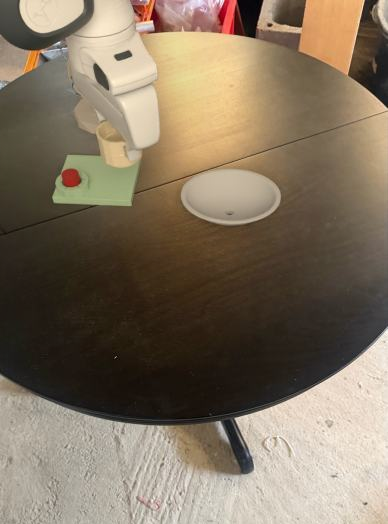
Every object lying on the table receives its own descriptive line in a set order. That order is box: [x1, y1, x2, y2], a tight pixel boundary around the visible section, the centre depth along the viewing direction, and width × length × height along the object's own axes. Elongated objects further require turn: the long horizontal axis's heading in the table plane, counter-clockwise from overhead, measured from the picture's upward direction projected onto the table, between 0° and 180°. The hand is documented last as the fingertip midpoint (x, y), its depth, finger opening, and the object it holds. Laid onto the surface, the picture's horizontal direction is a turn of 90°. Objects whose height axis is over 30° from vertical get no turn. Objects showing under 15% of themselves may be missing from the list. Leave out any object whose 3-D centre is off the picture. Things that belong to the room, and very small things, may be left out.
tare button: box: [60, 168, 81, 187], centre depth 89 cm, size 3×3×2 cm
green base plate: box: [51, 154, 142, 207], centre depth 92 cm, size 15×13×3 cm
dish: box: [180, 168, 282, 227], centre depth 85 cm, size 18×14×5 cm
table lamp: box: [59, 39, 100, 135], centre depth 89 cm, size 22×22×40 cm
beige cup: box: [95, 120, 144, 168], centre depth 71 cm, size 6×6×4 cm
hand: (120, 144), depth 71 cm, fingers closed on beige cup, 6 cm apart
